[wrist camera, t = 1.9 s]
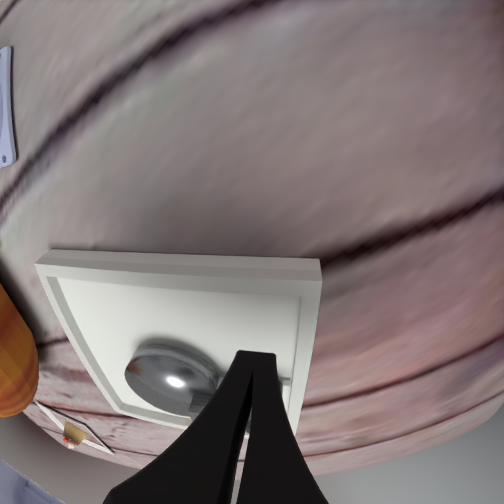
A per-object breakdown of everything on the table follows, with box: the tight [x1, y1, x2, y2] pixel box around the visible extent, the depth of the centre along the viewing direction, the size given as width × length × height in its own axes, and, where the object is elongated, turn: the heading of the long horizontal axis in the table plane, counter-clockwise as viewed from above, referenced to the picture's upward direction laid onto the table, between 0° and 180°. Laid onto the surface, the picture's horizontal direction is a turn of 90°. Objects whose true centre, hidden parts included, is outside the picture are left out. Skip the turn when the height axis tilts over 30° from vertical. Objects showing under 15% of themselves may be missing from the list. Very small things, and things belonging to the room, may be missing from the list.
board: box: [34, 249, 322, 439], centre depth 17 cm, size 16×16×2 cm
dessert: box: [35, 402, 116, 456], centre depth 32 cm, size 12×12×5 cm
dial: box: [124, 343, 283, 434], centre depth 15 cm, size 10×6×3 cm, turn 92°
